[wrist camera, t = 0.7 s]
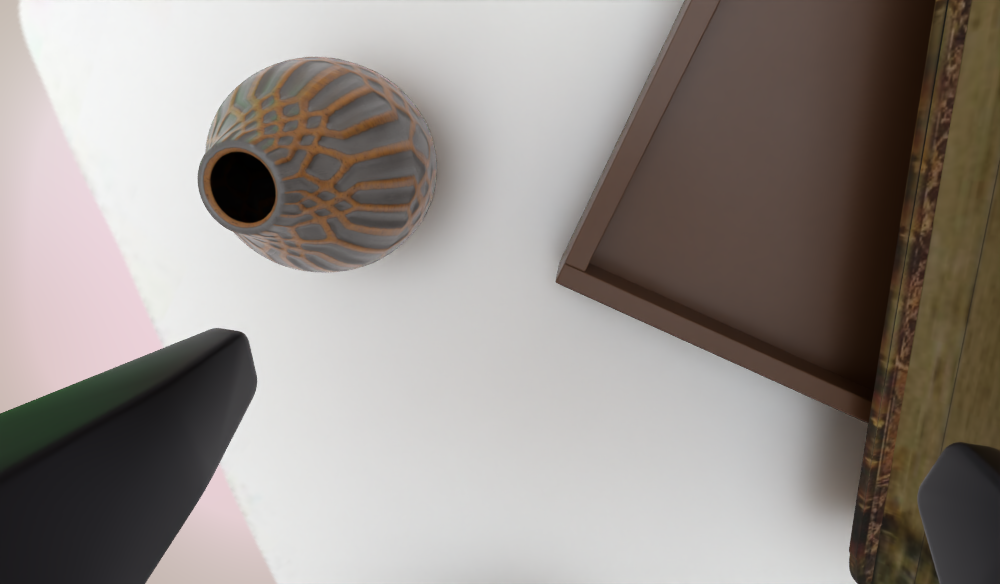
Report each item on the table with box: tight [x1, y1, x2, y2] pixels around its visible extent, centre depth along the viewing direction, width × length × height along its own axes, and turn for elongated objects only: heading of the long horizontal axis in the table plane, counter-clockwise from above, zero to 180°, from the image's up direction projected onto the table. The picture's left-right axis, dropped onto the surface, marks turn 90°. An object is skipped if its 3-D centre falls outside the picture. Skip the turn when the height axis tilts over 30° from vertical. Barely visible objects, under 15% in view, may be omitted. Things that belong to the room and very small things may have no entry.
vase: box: [198, 57, 437, 272], centre depth 18 cm, size 7×7×9 cm
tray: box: [556, 0, 936, 424], centre depth 18 cm, size 18×17×3 cm
